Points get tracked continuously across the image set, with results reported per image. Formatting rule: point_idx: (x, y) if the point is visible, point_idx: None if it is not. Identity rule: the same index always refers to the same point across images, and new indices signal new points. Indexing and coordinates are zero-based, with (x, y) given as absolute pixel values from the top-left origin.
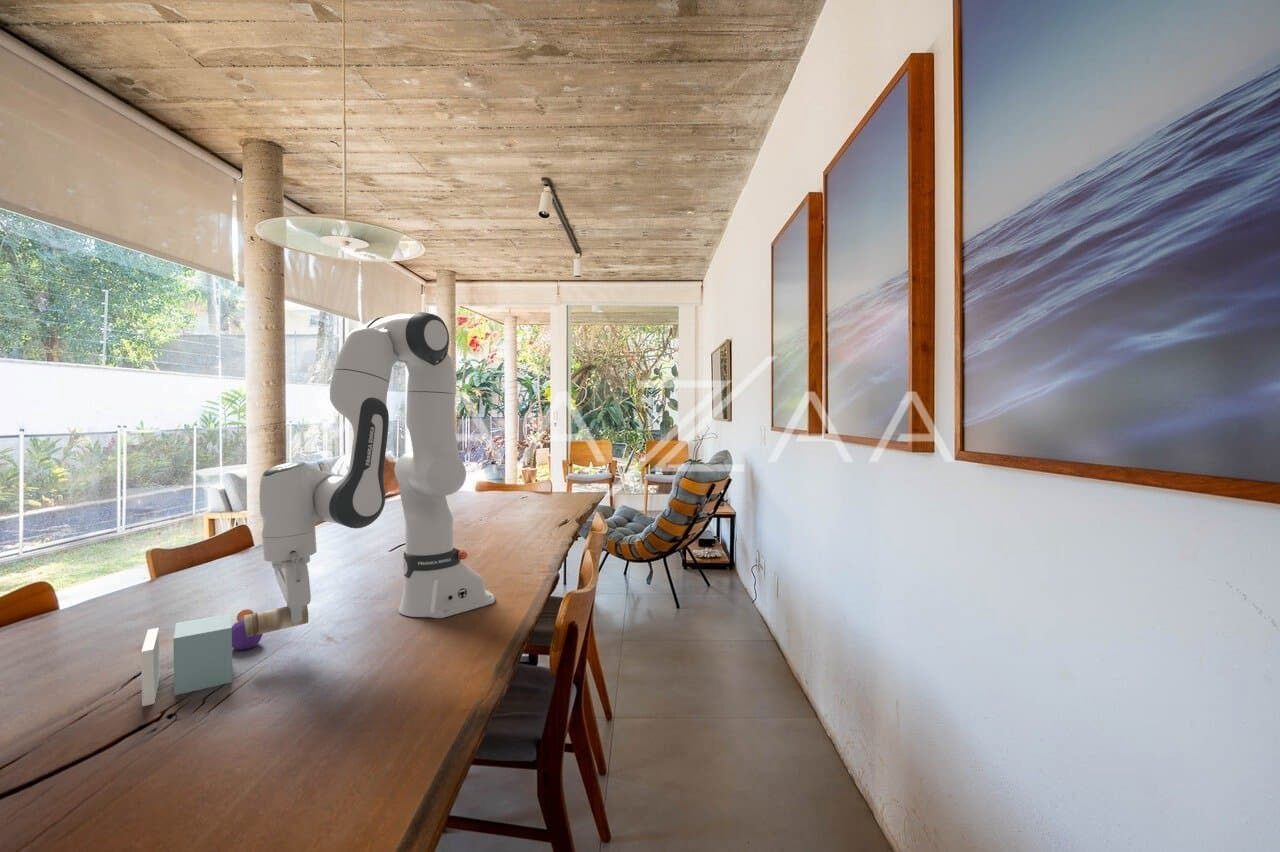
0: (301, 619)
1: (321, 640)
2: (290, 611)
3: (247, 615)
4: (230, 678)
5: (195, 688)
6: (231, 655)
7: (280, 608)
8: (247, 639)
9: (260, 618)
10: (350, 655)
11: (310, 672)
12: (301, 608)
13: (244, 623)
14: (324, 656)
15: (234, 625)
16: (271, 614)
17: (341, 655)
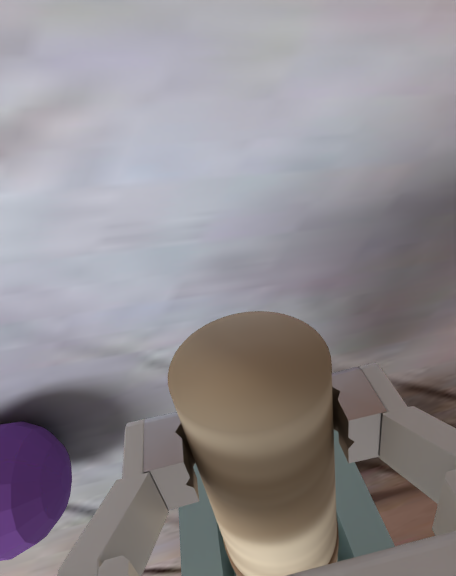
0: (380, 367)
1: (8, 186)
2: (398, 469)
3: None
4: None
5: None
6: (359, 476)
7: (291, 528)
8: (65, 467)
9: (331, 546)
10: (310, 19)
11: (401, 199)
12: (452, 431)
13: (15, 540)
14: (253, 156)
15: (14, 556)
16: (326, 529)
17: (284, 71)
